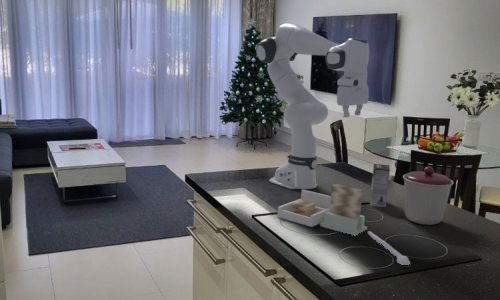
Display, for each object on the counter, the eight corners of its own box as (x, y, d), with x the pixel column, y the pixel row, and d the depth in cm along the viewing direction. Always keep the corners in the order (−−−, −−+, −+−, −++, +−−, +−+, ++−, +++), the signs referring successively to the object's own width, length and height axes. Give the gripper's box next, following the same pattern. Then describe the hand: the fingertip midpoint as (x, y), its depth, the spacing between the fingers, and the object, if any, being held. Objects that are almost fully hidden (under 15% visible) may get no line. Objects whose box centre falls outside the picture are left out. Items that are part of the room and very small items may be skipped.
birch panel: (328, 222, 185) (332, 184, 182) (331, 220, 186) (334, 183, 183) (356, 229, 178) (360, 191, 175) (358, 228, 179) (362, 190, 177)
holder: (320, 226, 183) (321, 212, 182) (332, 220, 190) (333, 207, 189) (355, 236, 174) (356, 222, 173) (367, 229, 181) (368, 216, 180)
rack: (277, 217, 190) (278, 196, 189) (299, 208, 202) (300, 188, 200) (311, 227, 181) (313, 205, 180) (332, 217, 193) (334, 197, 191)
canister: (388, 215, 199) (394, 162, 195) (424, 211, 206) (430, 160, 202) (420, 231, 183) (427, 174, 179) (458, 226, 190) (466, 171, 186)
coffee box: (369, 199, 219) (373, 163, 216) (385, 201, 218) (388, 164, 215) (370, 205, 210) (374, 168, 207) (386, 207, 209) (390, 169, 206)
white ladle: (359, 233, 178) (360, 226, 177) (370, 233, 179) (371, 226, 178) (399, 267, 151) (400, 258, 151) (412, 267, 152) (413, 258, 152)
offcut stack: (290, 218, 190) (291, 202, 189) (299, 214, 195) (300, 199, 193) (306, 223, 186) (307, 207, 184) (315, 219, 190) (316, 203, 189)
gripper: (359, 79, 207) (356, 113, 210) (335, 80, 191) (332, 117, 194) (374, 80, 203) (370, 115, 206) (350, 81, 187) (347, 119, 190)
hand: (351, 116), depth 200 cm, fingers open, 8 cm apart
